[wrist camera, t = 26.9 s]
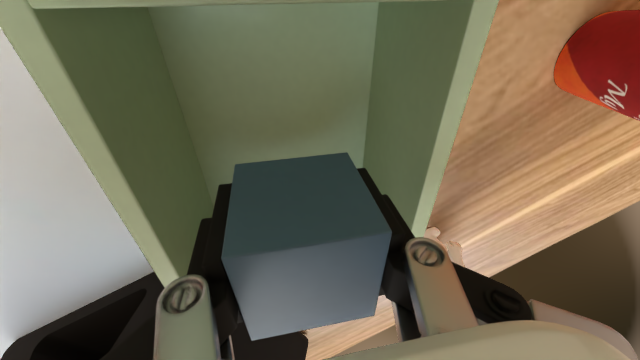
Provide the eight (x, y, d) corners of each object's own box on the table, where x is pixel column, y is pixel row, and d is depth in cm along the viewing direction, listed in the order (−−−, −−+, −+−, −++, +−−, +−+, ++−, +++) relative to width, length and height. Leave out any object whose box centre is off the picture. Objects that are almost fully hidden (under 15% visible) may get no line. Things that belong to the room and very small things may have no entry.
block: (234, 163, 10) (220, 258, 6) (347, 151, 11) (392, 231, 7) (253, 242, 13) (251, 341, 9) (343, 228, 13) (374, 316, 10)
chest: (364, 199, 24) (409, 283, 17) (210, 220, 22) (187, 326, 15) (389, -22, 15) (512, -38, 8) (125, -20, 13) (-45, -40, 6)
